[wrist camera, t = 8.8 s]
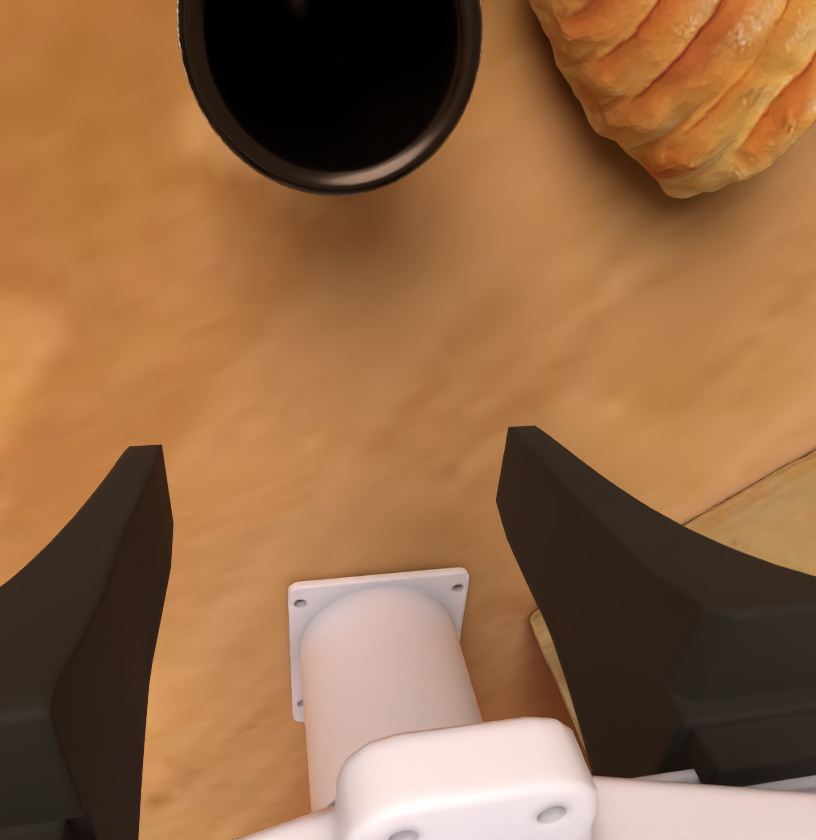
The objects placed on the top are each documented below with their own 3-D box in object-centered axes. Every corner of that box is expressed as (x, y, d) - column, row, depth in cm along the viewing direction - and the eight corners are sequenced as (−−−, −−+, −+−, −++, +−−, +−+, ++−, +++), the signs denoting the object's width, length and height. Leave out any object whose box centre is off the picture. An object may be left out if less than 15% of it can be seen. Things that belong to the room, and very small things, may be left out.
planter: (324, -152, 17) (398, -232, 9) (410, 33, 20) (529, 105, 12) (169, -47, 18) (103, -29, 10) (272, 120, 21) (291, 248, 12)
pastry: (457, 20, 20) (497, 34, 17) (622, -239, 18) (704, -277, 14) (670, 201, 24) (734, 239, 21) (826, 13, 22) (924, 25, 19)
